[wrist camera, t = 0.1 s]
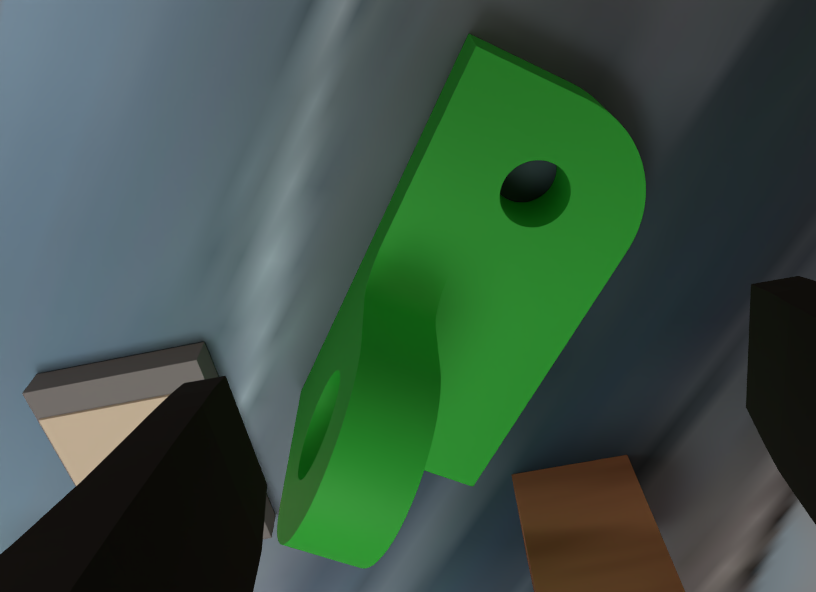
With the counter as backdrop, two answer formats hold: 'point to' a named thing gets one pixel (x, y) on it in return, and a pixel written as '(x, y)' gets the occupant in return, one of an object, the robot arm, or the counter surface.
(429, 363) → the mechanical part
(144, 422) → the robot arm
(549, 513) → the terracotta block
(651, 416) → the counter surface
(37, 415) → the pad
